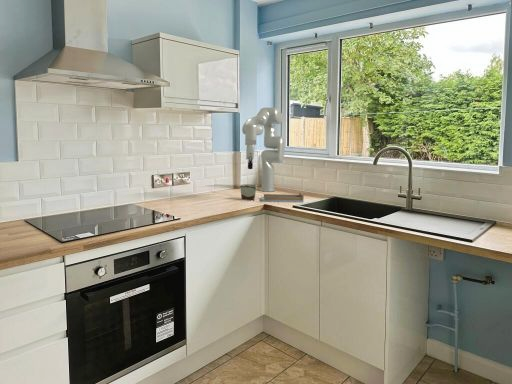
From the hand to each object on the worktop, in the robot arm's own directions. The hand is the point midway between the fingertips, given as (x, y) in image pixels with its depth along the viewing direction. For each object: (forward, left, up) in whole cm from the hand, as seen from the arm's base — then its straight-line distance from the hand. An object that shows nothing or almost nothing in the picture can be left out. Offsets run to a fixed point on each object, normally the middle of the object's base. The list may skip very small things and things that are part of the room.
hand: (250, 168), depth 280 cm
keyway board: (+1, +22, -21) cm, 31 cm away
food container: (0, 0, -22) cm, 22 cm away
